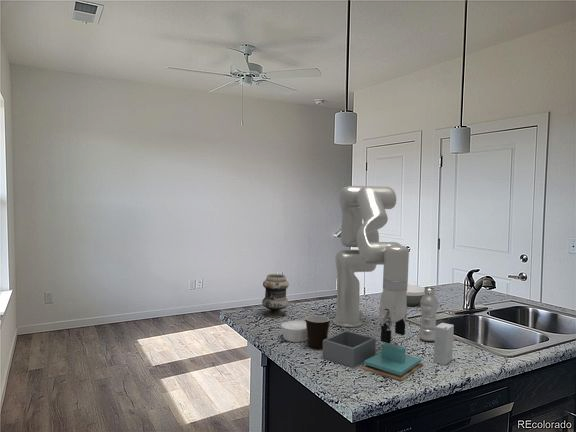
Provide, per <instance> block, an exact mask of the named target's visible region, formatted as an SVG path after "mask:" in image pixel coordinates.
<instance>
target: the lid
mask: <svg viewBox="0 0 576 432" xmlns="http://www.w3.org/2000/svg"><path fill="white" fill-rule="evenodd" d="M419 363H422V358H420V357H417V356H413V355H409V354H406V347H405V346H401V345H397V344H394V343H386V342H383V343H381V351H380V352H378V353H375V355H374V356H372V357H370V358H369V359H367V360H365V361H364V362H363V364H364V365H369V366H370V367H373V368H377V369H380V370H383V371H386V372H389V373H392V374H395V375H400V376H401V375H403V374H404V373H406V372H407V371H408V370H410V369H411V368H413V367H414V366H416V365H417V364H419Z"/></svg>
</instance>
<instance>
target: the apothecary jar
mask: <svg viewBox="0 0 576 432" xmlns="http://www.w3.org/2000/svg"><path fill="white" fill-rule="evenodd" d="M262 286H263V288H265V293H264V297H263V299H262V301H261V304H262V306H263V307H264V308H265V309H268V310H267V311H265V312H264V315H263V316H265V317H267V318H272V319H276V318H277V319H278V318H283V317H286V316H287V314H286V312H284V311H283V310H284V309H286V308H287V307H288V306H289V305H290V304H289V303H290V302H289V300H288V298H287V289H288V288H289V286H290V283H289V281H288V280H287V279H286V275H285V274H279V273H270V274H268V275H266V279H264V281H263V283H262Z"/></svg>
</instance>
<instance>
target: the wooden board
mask: <svg viewBox="0 0 576 432" xmlns="http://www.w3.org/2000/svg"><path fill="white" fill-rule="evenodd" d="M423 366H424V363H423V362H420V363H419V364H417V365H416V366H414V367H413V368H411V369H410V370H408V371H407V372H406V373H404V374H403V375H401V376H400V375H395V374H392V373H389V372H386V371H383V370H380V369H377V368H373V367H370V366H369V365H366V364H364V366H361V370H364V371H367V372H370V373H373V374H376V375H379V376H382V377H386V378H388V379H391V380H395V381H398V382H402V381H404V380H406V379H407V378H408V377H409V376H411V375H412V374H414V373H415V372H417V371H418V370H419V369H421V368H422V367H423Z"/></svg>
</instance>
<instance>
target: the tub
mask: <svg viewBox="0 0 576 432" xmlns="http://www.w3.org/2000/svg"><path fill="white" fill-rule="evenodd" d="M376 342H377V340H376V337H372V336H369V335H365V334H361V333H358V332H353V331H349V330H344V331H341V332H338V333H336V334H334V335H331V336H329V337H327V339H324V340H323V349H322V356H321V357H322V359H325V360H328V361H330V362H333V363H338V364H340V365H343V366H345V367H346V366H347V367H350V368H356V367H357V366H359V365H361V364H364V361H365V360H367V359H369V358H370V357H372V356H374V355H376V345H377V344H376Z"/></svg>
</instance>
